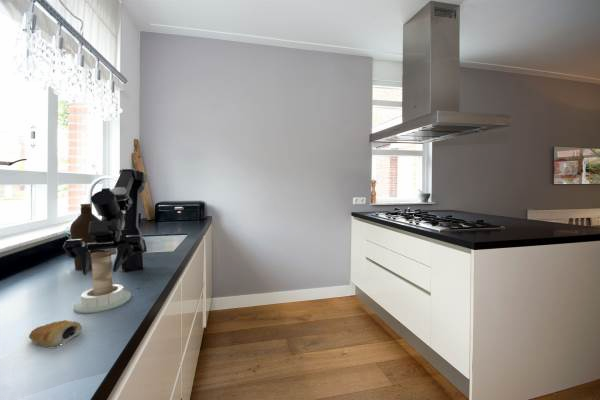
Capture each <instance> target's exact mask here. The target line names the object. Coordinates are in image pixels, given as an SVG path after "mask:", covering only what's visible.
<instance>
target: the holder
mask: <svg viewBox="0 0 600 400" xmlns="http://www.w3.org/2000/svg"><path fill="white" fill-rule="evenodd" d="M80 298H81V299H80V300H78V301H76V302H75V303H74V304H73V311H74V312H76V313H78V314H94V313H95V314H96V313H101V312H105V311H109V310H112V309H116V308H117V307H120V306H123V305H124V304H126V303H128V302H129V301H130V299H131V298H132V293H131V292H130V291H128V290H124V285H122V284H117V283H115V284H113V292H111V293H109V294H105V295H100V296H93V287H92V288H90V289H87V290H85V291H83V292H82V293H81V296H80Z"/></svg>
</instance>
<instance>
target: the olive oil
mask: <svg viewBox="0 0 600 400" xmlns="http://www.w3.org/2000/svg"><path fill="white" fill-rule="evenodd" d="M92 221H101V219H100V218H98V217H97V216H96V215H95V214H93V211H92V204H91V203H81V204H80V214H79V216H77V218H75V220H74V221H73V222H72V223H71V225H70V229H69V233H70V240H73V239H83V240H84V242H86V243H95V240H93V239H92V234H89V233H88V232H89V223H90V222H92ZM100 251H105V250H90V252H89V253H90V255H91V253H94V252H100ZM73 261H74V269H75V270H78V271H83V270H82V264H81V259H79V258H73ZM89 270H92V262H91V263H90V266H89Z"/></svg>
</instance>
